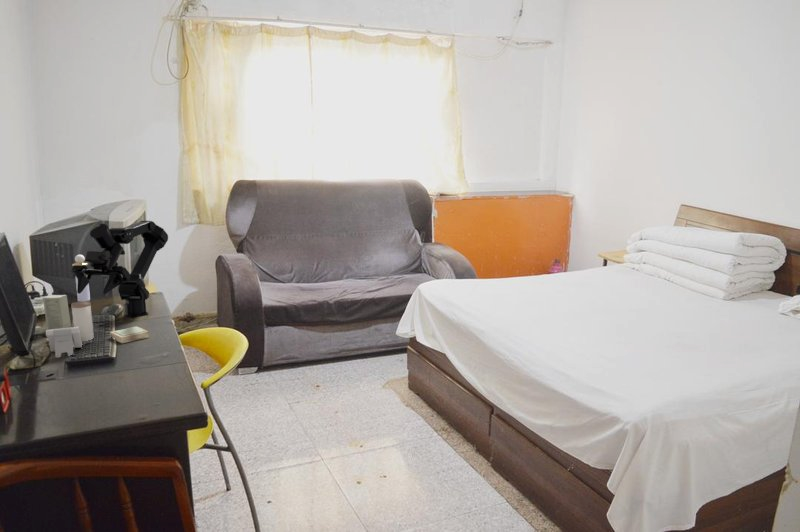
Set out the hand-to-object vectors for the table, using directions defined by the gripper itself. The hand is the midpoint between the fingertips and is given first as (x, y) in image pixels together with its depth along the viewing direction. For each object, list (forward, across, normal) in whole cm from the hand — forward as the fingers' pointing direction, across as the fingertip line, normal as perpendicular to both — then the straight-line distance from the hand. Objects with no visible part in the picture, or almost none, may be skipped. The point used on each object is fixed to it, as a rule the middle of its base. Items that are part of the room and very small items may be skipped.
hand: (91, 293), depth 198 cm
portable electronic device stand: (+24, +3, -1) cm, 24 cm away
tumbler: (+16, +2, +5) cm, 17 cm away
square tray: (+11, +14, +10) cm, 20 cm away
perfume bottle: (-22, -33, +39) cm, 55 cm away
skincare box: (+7, -16, +13) cm, 22 cm away
